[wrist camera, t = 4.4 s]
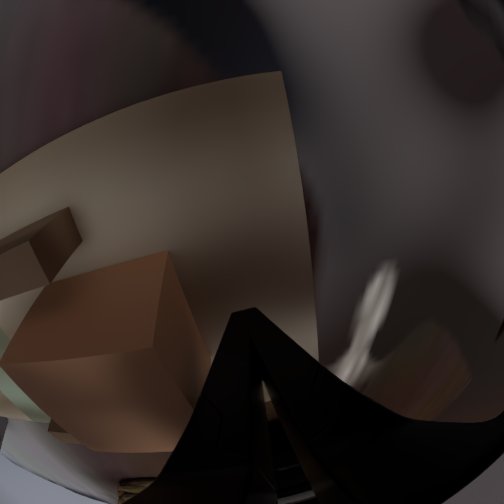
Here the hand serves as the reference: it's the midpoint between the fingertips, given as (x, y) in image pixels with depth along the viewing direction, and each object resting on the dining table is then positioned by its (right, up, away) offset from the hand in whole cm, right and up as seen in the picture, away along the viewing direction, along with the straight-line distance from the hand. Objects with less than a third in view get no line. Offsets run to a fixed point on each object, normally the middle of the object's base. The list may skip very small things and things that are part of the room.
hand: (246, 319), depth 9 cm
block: (-4, -1, +1) cm, 4 cm away
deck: (-12, -1, +3) cm, 12 cm away
